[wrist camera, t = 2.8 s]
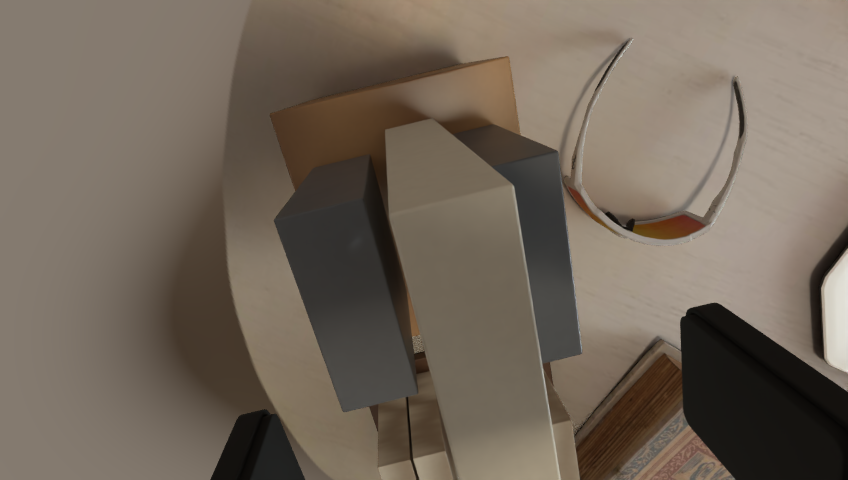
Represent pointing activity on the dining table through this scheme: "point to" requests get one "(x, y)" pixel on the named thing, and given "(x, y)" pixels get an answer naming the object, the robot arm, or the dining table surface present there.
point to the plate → (835, 313)
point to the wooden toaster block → (394, 119)
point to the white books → (427, 440)
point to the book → (646, 428)
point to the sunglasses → (664, 228)
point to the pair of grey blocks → (381, 273)
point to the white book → (471, 303)
